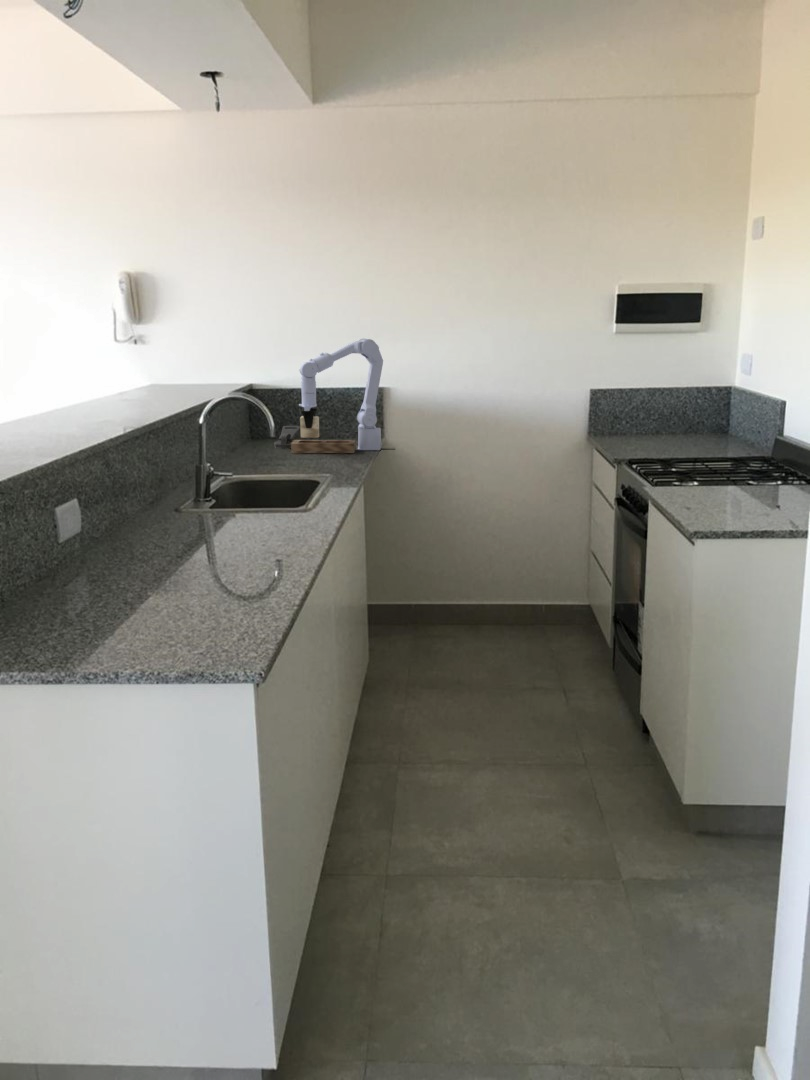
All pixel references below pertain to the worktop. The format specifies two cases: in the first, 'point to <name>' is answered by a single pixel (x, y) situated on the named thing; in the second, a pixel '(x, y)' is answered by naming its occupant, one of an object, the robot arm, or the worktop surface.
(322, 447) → the wooden compartment tray
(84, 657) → the worktop surface
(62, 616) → the worktop surface
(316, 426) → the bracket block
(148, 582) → the worktop surface
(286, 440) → the dark grey angled stand
